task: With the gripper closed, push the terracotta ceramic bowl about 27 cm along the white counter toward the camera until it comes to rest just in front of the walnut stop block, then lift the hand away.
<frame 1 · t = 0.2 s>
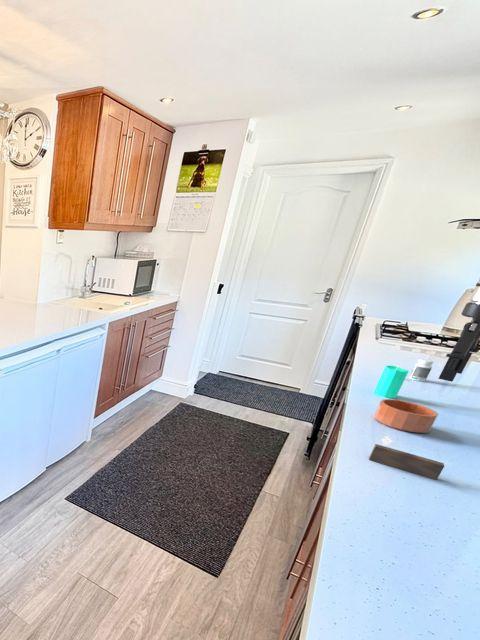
hand: (450, 376, 118), 17 cm above the countertop, tool pointing down, fingers open, 13 cm apart
pill bottle: (416, 380, 165), on the countertop
stop: (401, 468, 100), on the countertop
candle: (384, 395, 147), on the countertop
bowl: (400, 424, 124), on the countertop
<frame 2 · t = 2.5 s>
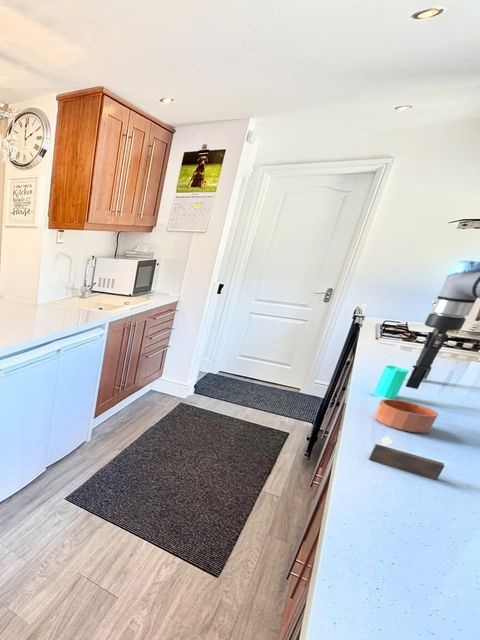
hand: (411, 387, 129), 9 cm above the countertop, tool pointing down, fingers closed
nothing on the countertop moved.
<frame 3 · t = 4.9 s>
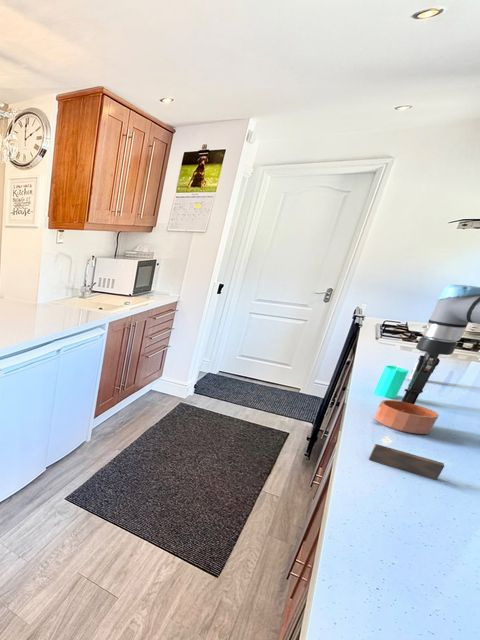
hand: (403, 410, 127), 3 cm above the countertop, tool pointing down, fingers closed
bowl: (400, 425, 123), on the countertop, touching gripper
everything else where it was.
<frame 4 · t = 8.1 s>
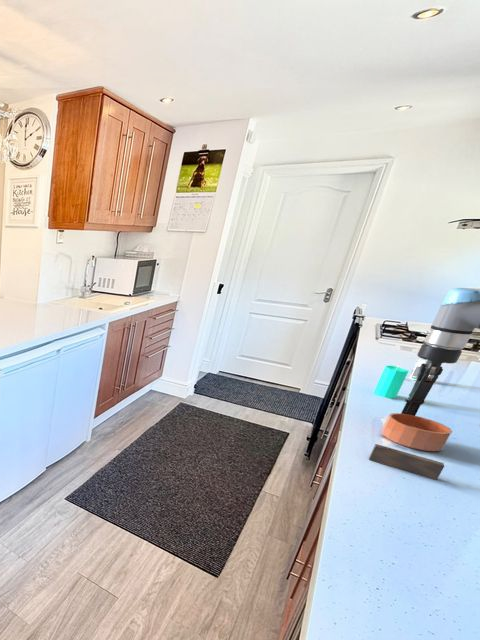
hand: (403, 422, 118), 3 cm above the countertop, tool pointing down, fingers closed
bowl: (409, 441, 114), on the countertop, touching gripper
everything else where it was.
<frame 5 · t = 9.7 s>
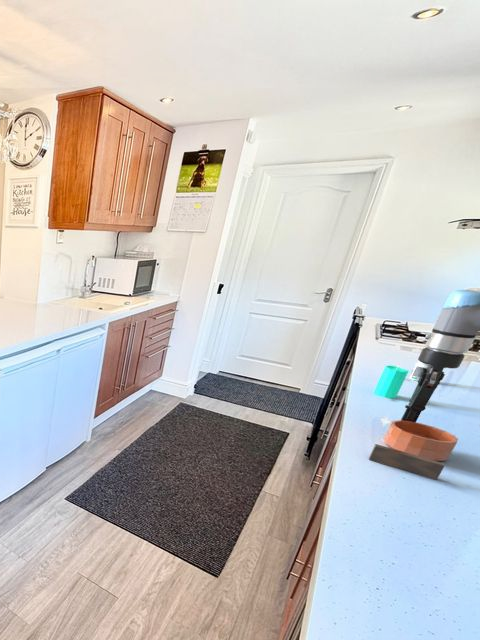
hand: (404, 429, 114), 3 cm above the countertop, tool pointing down, fingers closed
bowl: (413, 450, 109), on the countertop, touching gripper
everything else where it was.
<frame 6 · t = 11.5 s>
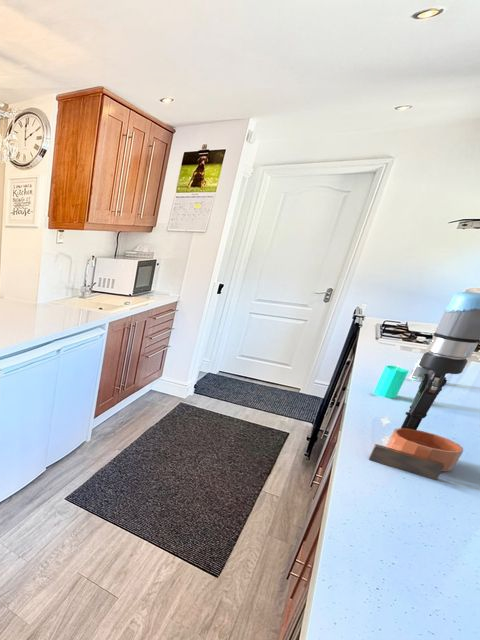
hand: (404, 436, 110), 3 cm above the countertop, tool pointing down, fingers closed
bowl: (416, 459, 104), on the countertop, touching gripper
everything else where it was.
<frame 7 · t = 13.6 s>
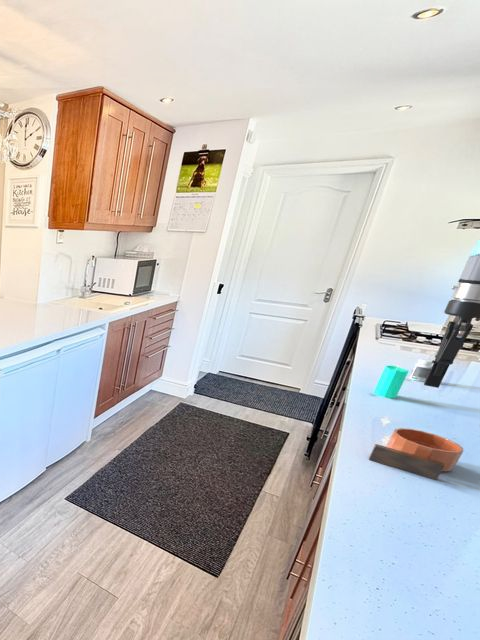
hand: (431, 385, 112), 16 cm above the countertop, tool pointing down, fingers closed
bowl: (416, 459, 104), on the countertop
everything else where it was.
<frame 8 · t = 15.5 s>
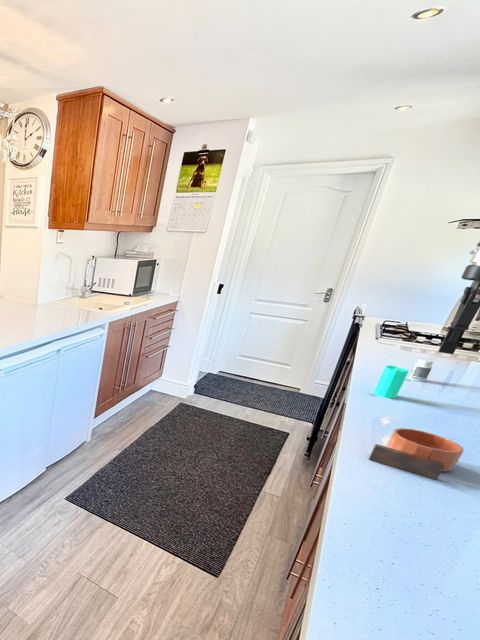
hand: (445, 352, 112), 24 cm above the countertop, tool pointing down, fingers closed
nothing on the countertop moved.
at the end: bowl inside the target area on the countertop beside the stop (2.8 cm from its centre), on the countertop; bowl tilted 0°; bowl moved 26.7 cm from its start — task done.
